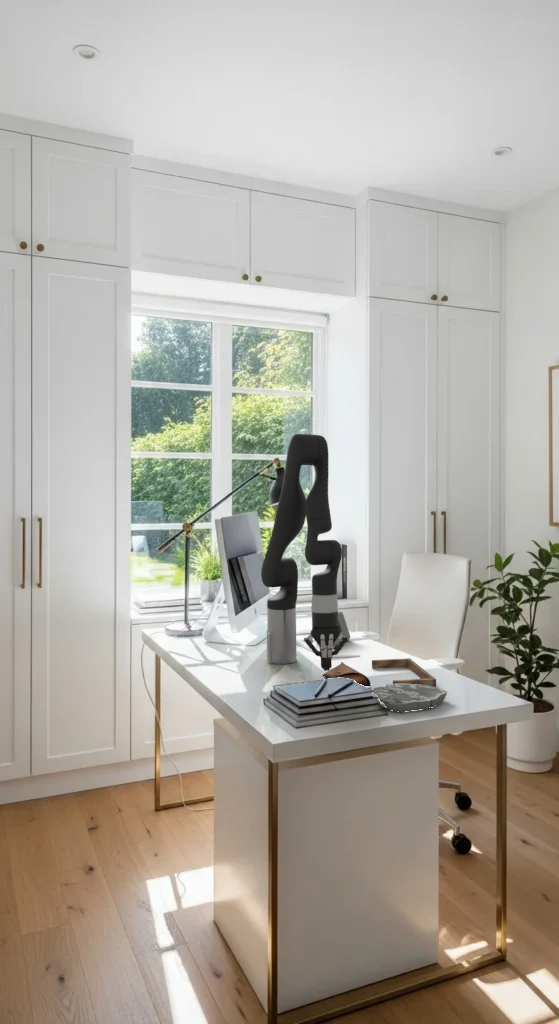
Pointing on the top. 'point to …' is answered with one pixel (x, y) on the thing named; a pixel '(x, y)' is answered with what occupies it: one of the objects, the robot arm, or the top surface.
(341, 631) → the digital clock
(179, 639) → the top surface
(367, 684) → the sunglasses case
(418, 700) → the grey flat stone slab
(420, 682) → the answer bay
